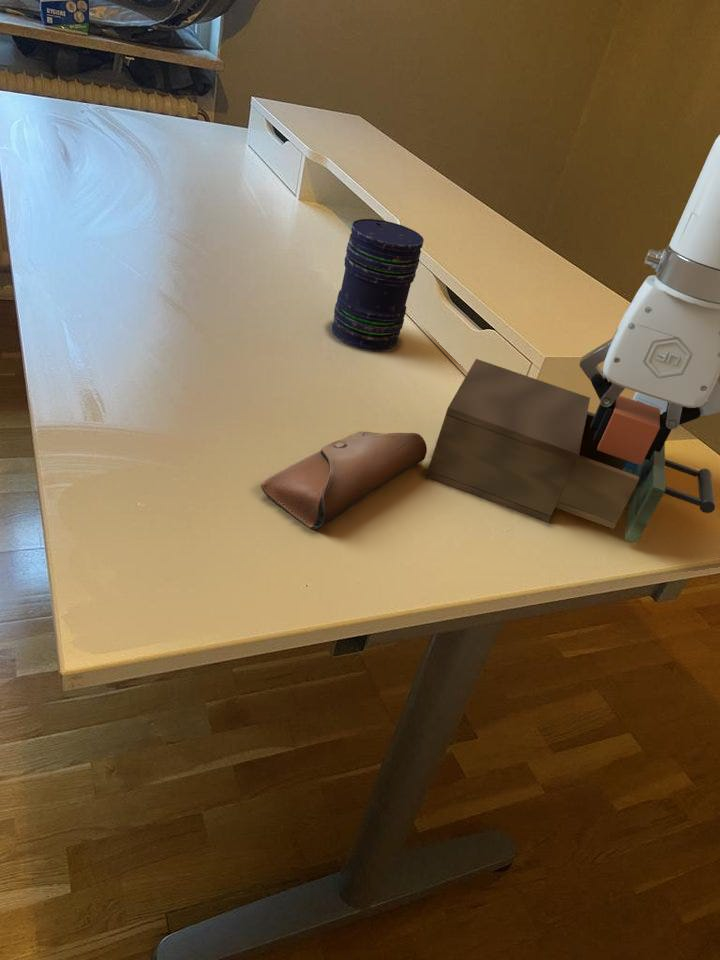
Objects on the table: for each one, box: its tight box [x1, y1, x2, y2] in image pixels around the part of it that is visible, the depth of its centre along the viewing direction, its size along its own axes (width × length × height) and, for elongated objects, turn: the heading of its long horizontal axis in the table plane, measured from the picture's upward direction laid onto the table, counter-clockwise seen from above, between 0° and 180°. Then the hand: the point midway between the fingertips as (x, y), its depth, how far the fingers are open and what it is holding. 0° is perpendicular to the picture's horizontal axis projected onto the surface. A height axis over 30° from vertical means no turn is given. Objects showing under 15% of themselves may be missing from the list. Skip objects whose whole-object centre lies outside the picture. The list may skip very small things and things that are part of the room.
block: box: [597, 394, 660, 465], centre depth 76 cm, size 5×5×5 cm
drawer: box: [555, 411, 716, 545], centre depth 79 cm, size 18×13×7 cm
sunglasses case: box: [260, 431, 428, 530], centre depth 74 cm, size 18×7×7 cm, turn 144°
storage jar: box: [331, 218, 425, 352], centre depth 101 cm, size 10×10×15 cm
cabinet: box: [425, 358, 591, 523], centre depth 81 cm, size 14×14×9 cm
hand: (622, 443), depth 77 cm, fingers closed on block, 4 cm apart
